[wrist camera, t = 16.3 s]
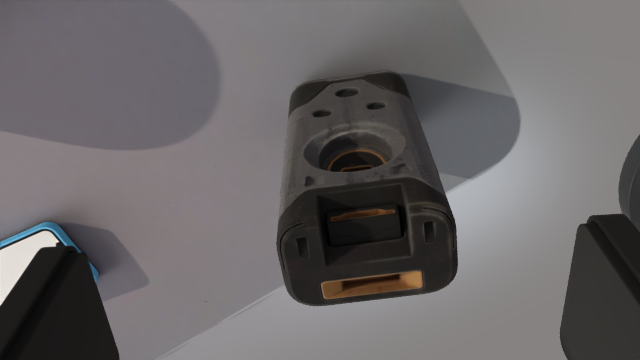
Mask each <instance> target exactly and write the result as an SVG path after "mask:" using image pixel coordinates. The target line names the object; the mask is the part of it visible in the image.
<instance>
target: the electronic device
mask: <svg viewBox="0 0 640 360" xmlns="http://www.w3.org/2000/svg"><path fill="white" fill-rule="evenodd" d="M280 196H281V199H280V210H279V220H278V232H277V243H276V244H277V252H278V256H279V261H280V265H281V269H282V274H283V278H284V282H285V286H286V289H287V291H288V293H289V294H290V296H292V298H293V299H295V300H296V301H298V302H299V303H302V304H305V305H310V306H327V305H335V304H343V303H352V302H360V301H369V300H377V299H385V298H394V297H402V296H411V295H418V294H426V293H431V292H435V291H438V290H440V289H442V288H444V287H446V286H447V285H449V283H450V282H451V281H452V280H453V279H454V277H455V275H456V273H457V267H458V257H457V235H456V224H455V219H454V217H453V214H452V211H451V209H450V206H449V203H448V200H447V197H446V194H445V192H444V189H443V186H442V183H441V181H440V178H439V173H438V170H437V168H436V165H435V162H434V159H433V157H432V154H431V151H430V148H429V146H428V143H427V140H426V137H425V135H424V132H423V129H422V126H421V124H420V121H419V119H418V117H417V114H416V111H415V109H414V106H413V103H412V100H411V97H410V95H409V92H408V89H407V86H406V84H405V81H404V80H403V78H402V77H401V76H400V75H399V74H397V73H395V72H392V71H379V72H372V73H365V74H358V75H351V76H344V77H337V78H330V79H323V80H316V81H310V82H306V83H303V84H300V85H299V86H297V87H296V88H295V89H294V90H293V92H292V94H291V97H290V106H289V116H288V127H287V136H286V142H285V152H284V163H283V173H282V183H281V194H280Z"/></svg>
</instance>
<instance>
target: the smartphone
mask: <svg viewBox="0 0 640 360" xmlns="http://www.w3.org/2000/svg"><path fill="white" fill-rule="evenodd" d="M55 246H74V247H75V248H76V249H77V251H78V253H81V251H80V250H79V249H78V248H77V247H76V245H75V244H74V243H73V242H72V241H71V240H70V238H69V237H68V236H67V235H66V234H65V232H64V231H63V230H62V229H61V228H60V227H59V226H58V225H57V224H55V223H53V222H44V223H41V224H39V225H37V226H34V227H32V228H30V229H28V230H25V231H23V232H21V233H19V234H16V235H14V236H12V237H10V238H8V239H5V240H3V241H1V242H0V306H1V304H2V303H3V301H4V300H5V298H6V297H7V295H8V294H9V292H10V291H11V289H12V288H13V287H14V285H15V284H16V282H17V281H18V279H19V278H20V276H21V275H22V273H23V272H24V271H25V269H26V268H27V266H28V265H29V263H30V262H31V260H32V259H33V257H34V256H35V254H36V253H37V252H38V251H39V250H40V248H43V247H55ZM89 264H90V267H91V270H92V273H93V276H94V279H95V282H96V281H97V279H98V277H99V273H98V271H97V270H96V269H95V268H94V267H93V265H92V264H91V263H90V262H89Z"/></svg>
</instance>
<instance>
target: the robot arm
mask: <svg viewBox="0 0 640 360" xmlns="http://www.w3.org/2000/svg"><path fill="white" fill-rule="evenodd" d="M560 340H561V345H562V348H563V351H564V353H565V355H566V357H567V359H568V360H640V232H639V230H638V229H637V228H636V227H635V226H634V224H633V223H632V222H631V221H630V219H629V218H628V217H627V216H626V215H624V214H609V215H592V216H590V217H589V219H588V220H587V223H586V224H580V225H579V227H578V229H577V234H576V240H575V246H574V252H573V258H572V263H571V269H570V275H569V281H568V287H567V292H566V298H565V304H564V310H563V316H562V322H561V327H560ZM0 360H119V353H118V349H117V346H116V343H115V340H114V337H113V334H112V331H111V328H110V325H109V322H108V319H107V316H106V313H105V310H104V307H103V303H102V300H101V297H100V294H99V291H98V288H97V285H96V282H95V279H94V276H93V273H92V270H91V267H90V264H89V261H88V258H87V256H86V254H85V253H82V252H81V253H78V251H77V249H76V248H75V247H74V246H55V247H43V248H40V250H39V251H38V252H37V253H36V254H35V256H34V257H33V259H32V260H31V262H30V263H29V265H28V266H27V268H26V269H25V271H24V272H23V273H22V275H21V276H20V278H19V279H18V281H17V282H16V284H15V285H14V287H13V288H12V289H11V291H10V292H9V294H8V295H7V297H6V298H5V300H4V301H3V303H2V304H1V306H0Z"/></svg>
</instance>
